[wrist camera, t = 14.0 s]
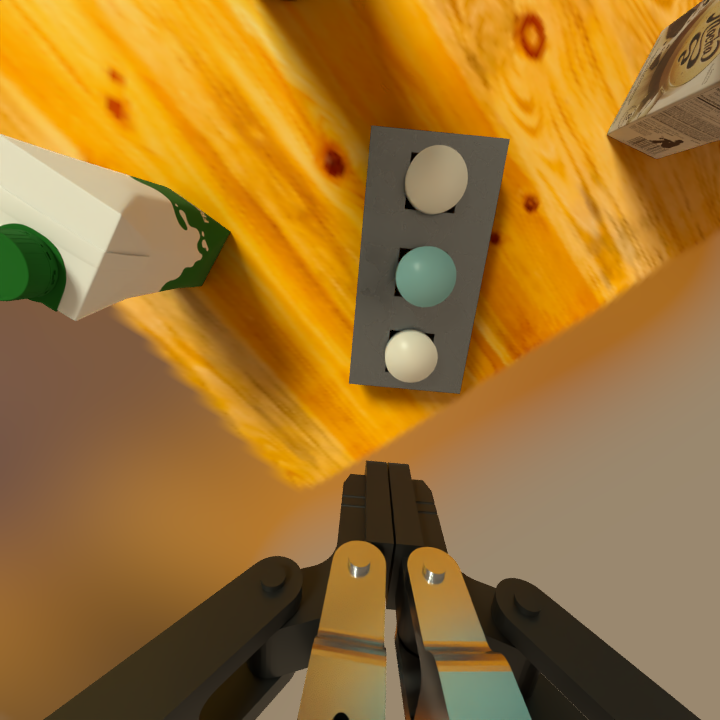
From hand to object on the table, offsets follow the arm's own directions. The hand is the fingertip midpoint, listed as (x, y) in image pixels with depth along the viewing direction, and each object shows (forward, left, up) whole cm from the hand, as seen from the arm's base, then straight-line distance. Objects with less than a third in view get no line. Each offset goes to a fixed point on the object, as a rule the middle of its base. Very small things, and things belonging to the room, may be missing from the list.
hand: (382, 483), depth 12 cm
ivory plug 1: (-14, +4, -28) cm, 32 cm away
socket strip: (-6, +4, -29) cm, 30 cm away
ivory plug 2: (+2, +4, -28) cm, 29 cm away
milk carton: (-7, -21, -29) cm, 37 cm away
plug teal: (-6, +4, -26) cm, 27 cm away
